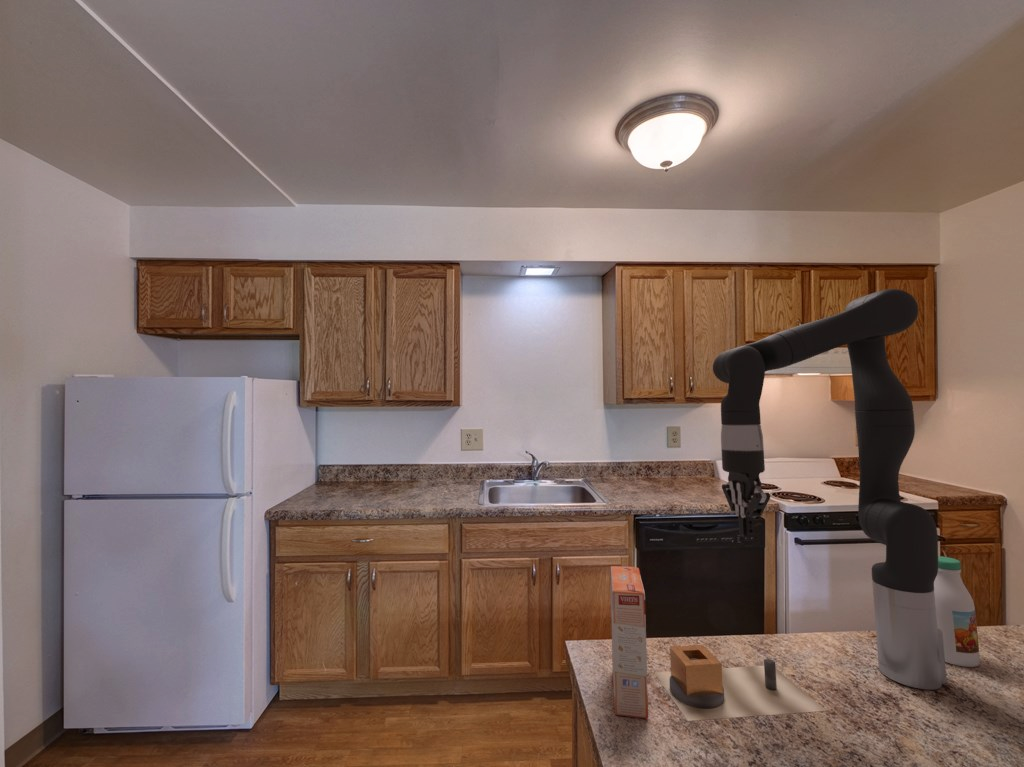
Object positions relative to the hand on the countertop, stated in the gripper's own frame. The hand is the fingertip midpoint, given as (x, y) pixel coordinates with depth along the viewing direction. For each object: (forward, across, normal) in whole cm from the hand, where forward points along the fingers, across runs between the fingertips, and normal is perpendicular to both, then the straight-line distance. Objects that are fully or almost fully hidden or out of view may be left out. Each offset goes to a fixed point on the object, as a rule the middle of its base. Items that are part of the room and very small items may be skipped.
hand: (746, 536), depth 89 cm
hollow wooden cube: (+24, -5, +14) cm, 28 cm away
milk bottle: (+27, +3, -45) cm, 53 cm away
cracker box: (+27, -2, +25) cm, 37 cm away
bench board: (+27, -5, +7) cm, 28 cm away
